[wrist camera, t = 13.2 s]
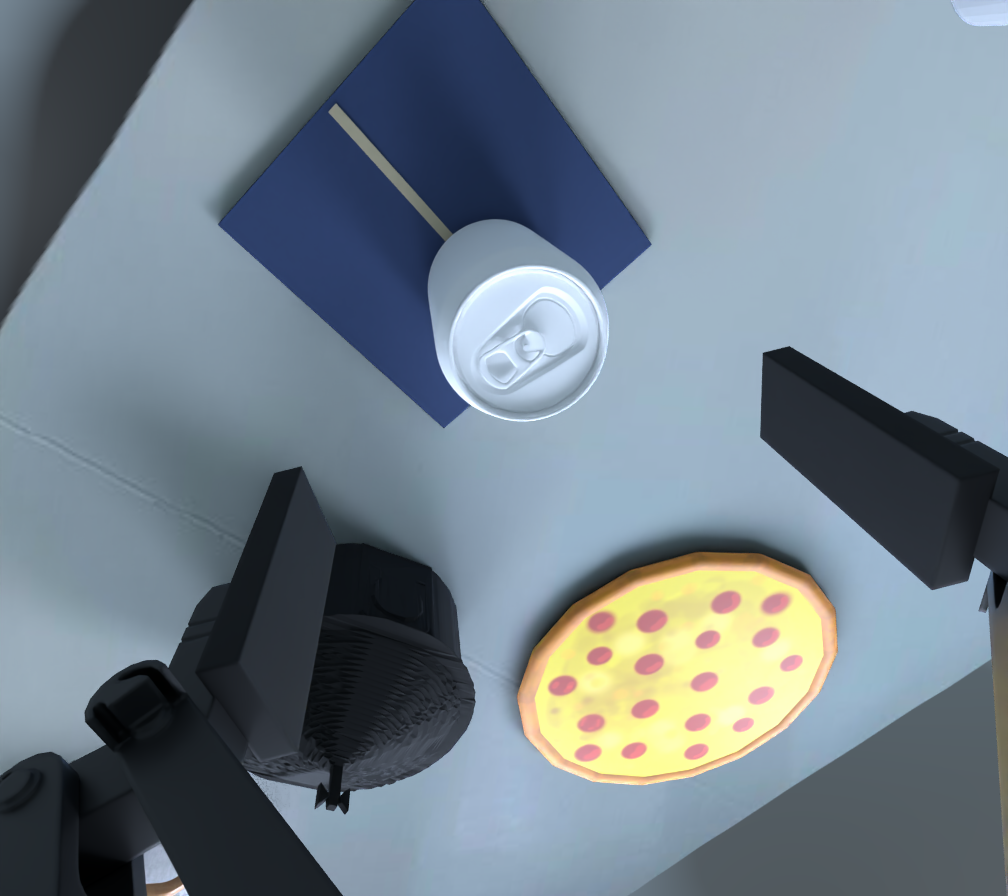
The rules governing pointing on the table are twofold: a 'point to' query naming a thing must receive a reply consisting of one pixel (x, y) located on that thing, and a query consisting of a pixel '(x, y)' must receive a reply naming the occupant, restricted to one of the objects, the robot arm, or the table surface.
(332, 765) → the black round tub
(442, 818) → the table surface
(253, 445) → the table surface
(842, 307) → the table surface
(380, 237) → the napkin
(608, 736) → the pizza
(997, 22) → the coffee cup
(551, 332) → the beverage can
